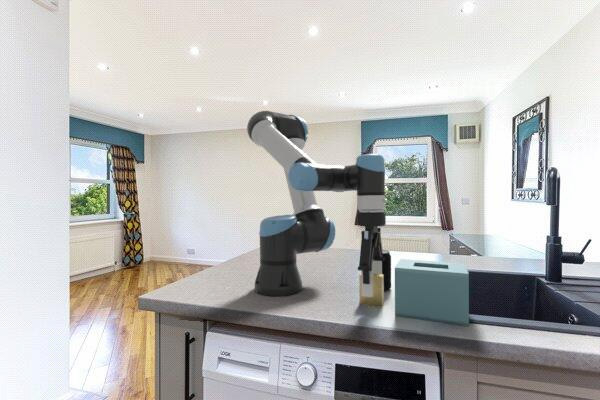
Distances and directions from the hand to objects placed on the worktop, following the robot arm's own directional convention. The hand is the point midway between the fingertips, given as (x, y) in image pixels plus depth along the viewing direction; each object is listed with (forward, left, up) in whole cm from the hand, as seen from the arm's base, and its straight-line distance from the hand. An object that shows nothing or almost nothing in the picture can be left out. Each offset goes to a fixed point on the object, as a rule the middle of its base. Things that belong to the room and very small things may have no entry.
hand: (372, 289), depth 85 cm
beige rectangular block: (0, 0, -4) cm, 4 cm away
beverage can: (-1, +16, -4) cm, 16 cm away
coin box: (+15, 0, -4) cm, 15 cm away
